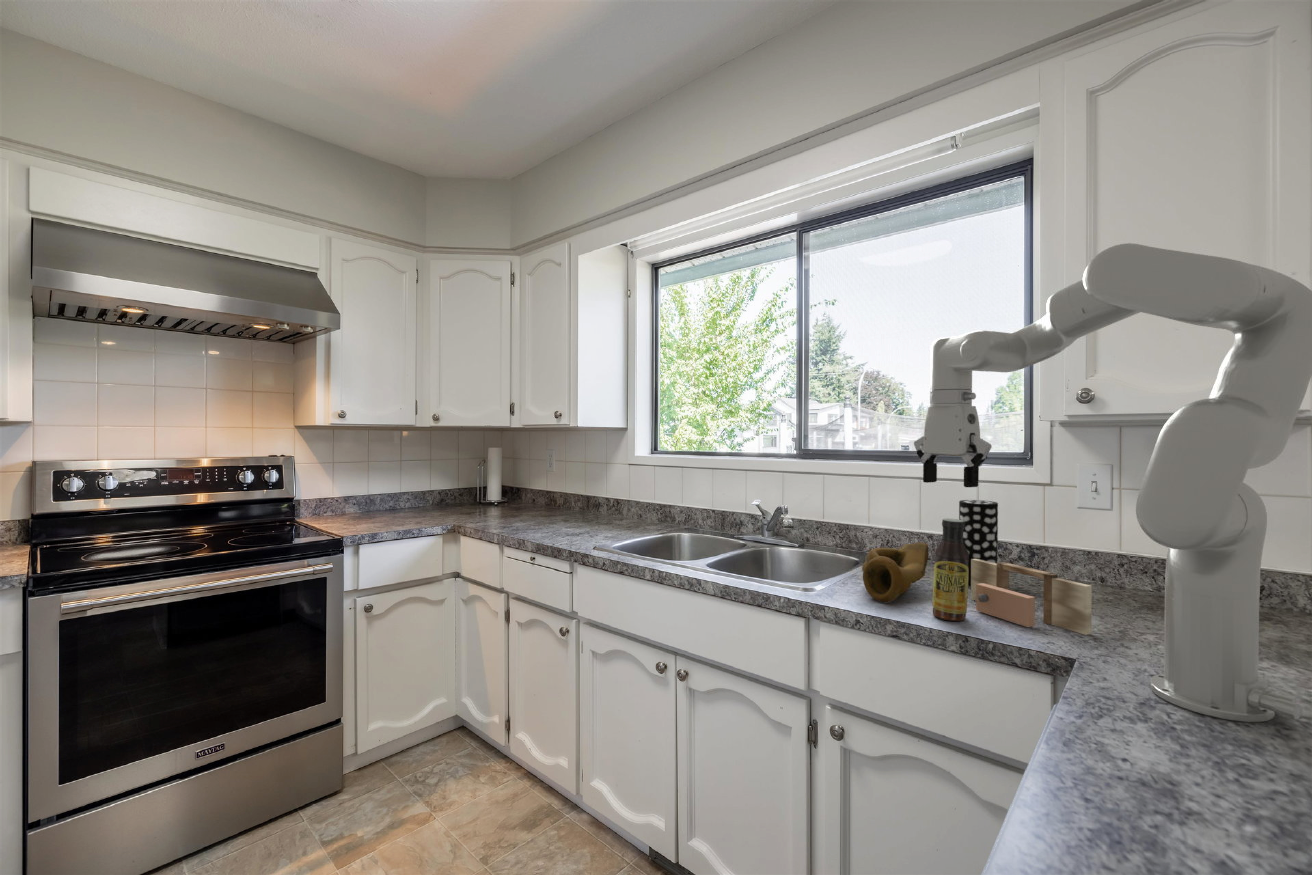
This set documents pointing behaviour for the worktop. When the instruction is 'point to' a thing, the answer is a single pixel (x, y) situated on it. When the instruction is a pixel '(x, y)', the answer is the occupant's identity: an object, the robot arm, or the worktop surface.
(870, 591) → the brown looped sculpture
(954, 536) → the sauce bottle
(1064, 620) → the door frame
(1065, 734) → the worktop surface
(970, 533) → the spotted tube
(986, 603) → the door
